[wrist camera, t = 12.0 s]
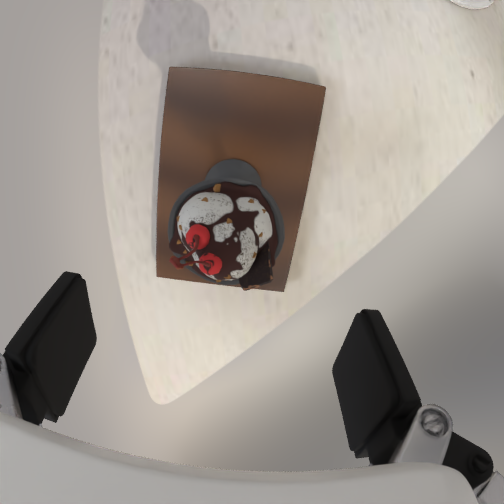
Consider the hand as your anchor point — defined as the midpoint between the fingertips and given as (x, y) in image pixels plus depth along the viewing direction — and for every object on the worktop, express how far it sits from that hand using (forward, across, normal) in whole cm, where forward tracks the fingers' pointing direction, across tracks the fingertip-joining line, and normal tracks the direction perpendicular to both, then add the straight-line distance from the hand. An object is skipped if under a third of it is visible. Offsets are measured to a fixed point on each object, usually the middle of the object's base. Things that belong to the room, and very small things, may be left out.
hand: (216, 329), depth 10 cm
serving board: (+20, 0, +1) cm, 20 cm away
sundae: (+18, 0, +1) cm, 19 cm away
